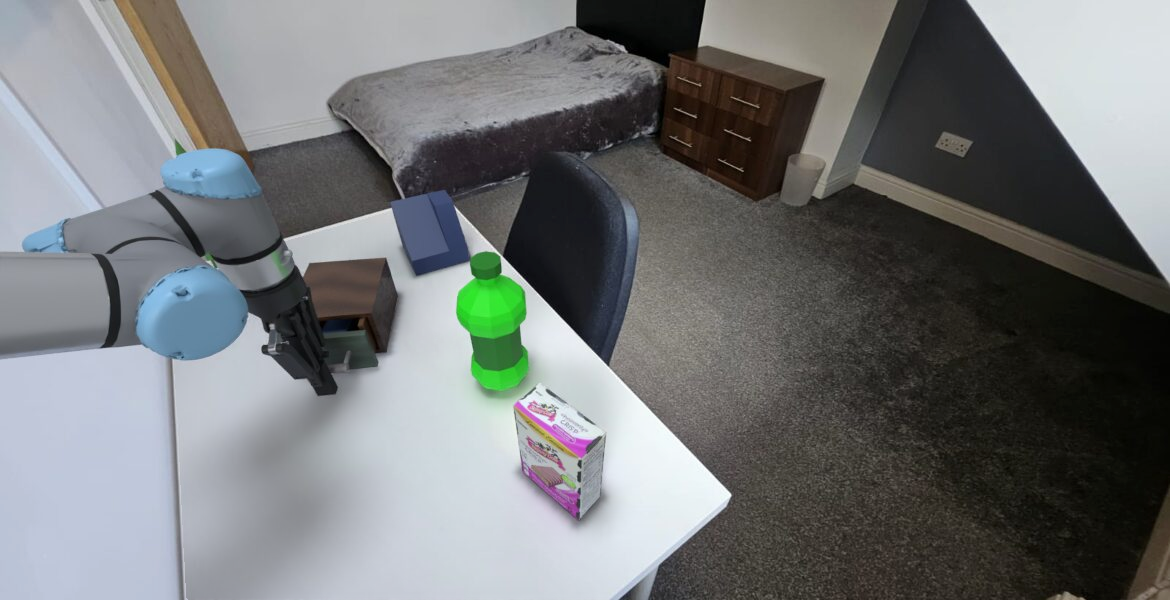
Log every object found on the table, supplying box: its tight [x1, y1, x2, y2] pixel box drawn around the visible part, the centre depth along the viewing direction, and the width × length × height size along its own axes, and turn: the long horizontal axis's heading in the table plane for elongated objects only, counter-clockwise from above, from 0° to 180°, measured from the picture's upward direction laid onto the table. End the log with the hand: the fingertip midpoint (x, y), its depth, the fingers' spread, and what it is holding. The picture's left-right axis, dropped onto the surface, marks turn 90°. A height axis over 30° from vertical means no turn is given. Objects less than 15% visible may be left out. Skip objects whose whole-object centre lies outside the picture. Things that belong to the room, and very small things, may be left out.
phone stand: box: [389, 189, 470, 277], centre depth 103 cm, size 12×12×12 cm
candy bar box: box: [512, 382, 607, 521], centre depth 61 cm, size 11×5×16 cm, turn 50°
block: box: [322, 319, 357, 334], centre depth 81 cm, size 4×4×4 cm
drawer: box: [319, 317, 379, 375], centre depth 81 cm, size 19×13×8 cm, turn 9°
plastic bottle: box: [455, 250, 530, 392], centre depth 72 cm, size 10×10×25 cm
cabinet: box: [302, 257, 399, 354], centre depth 86 cm, size 16×14×10 cm
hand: (328, 391), depth 74 cm, fingers closed
